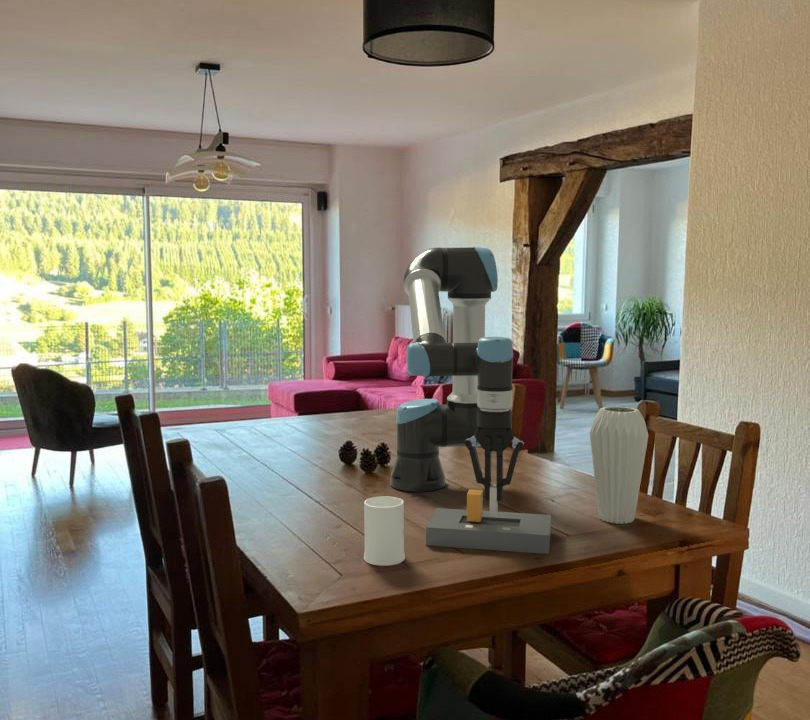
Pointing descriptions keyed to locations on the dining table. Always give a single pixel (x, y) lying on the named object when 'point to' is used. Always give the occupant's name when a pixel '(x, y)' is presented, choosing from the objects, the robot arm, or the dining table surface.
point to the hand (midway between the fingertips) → (493, 514)
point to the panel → (490, 531)
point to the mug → (384, 530)
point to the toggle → (474, 505)
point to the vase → (618, 461)
